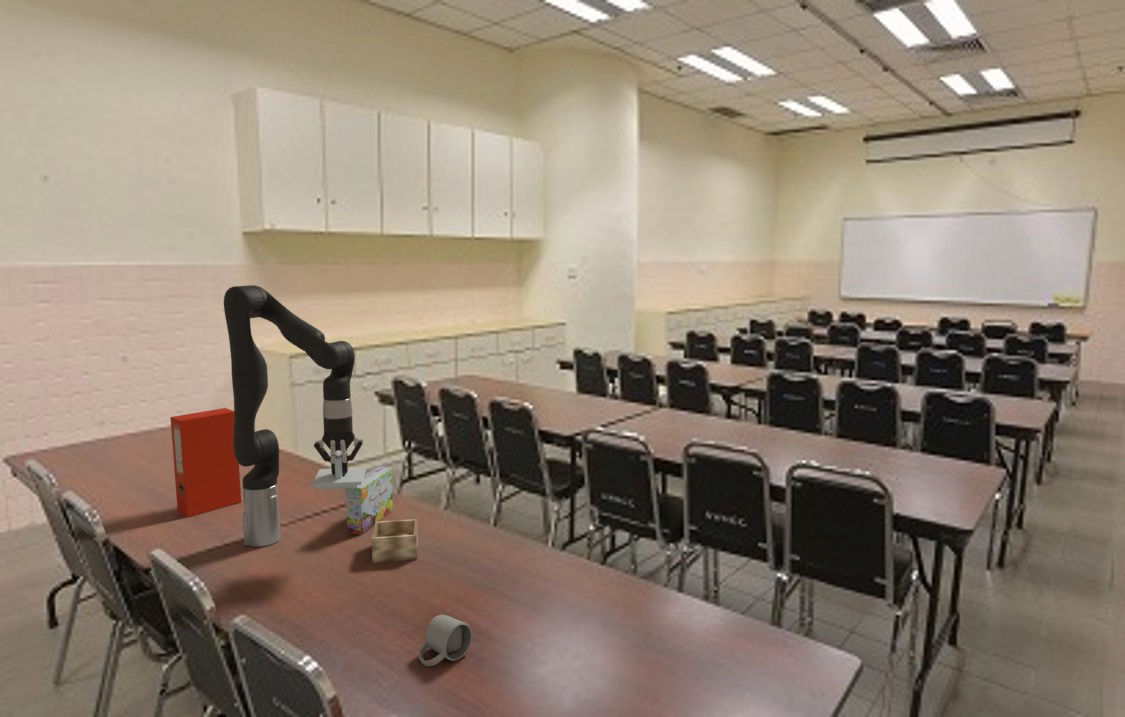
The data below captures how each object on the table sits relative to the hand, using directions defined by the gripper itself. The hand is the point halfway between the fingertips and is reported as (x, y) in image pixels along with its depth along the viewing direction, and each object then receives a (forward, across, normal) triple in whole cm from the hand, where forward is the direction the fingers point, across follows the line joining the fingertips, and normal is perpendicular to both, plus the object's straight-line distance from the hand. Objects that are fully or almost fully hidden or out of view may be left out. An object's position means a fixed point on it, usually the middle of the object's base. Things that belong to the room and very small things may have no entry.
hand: (340, 474), depth 186 cm
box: (+24, +15, 0) cm, 28 cm away
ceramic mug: (+24, +27, -53) cm, 64 cm away
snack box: (+24, +6, +24) cm, 34 cm away
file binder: (+24, -48, +45) cm, 70 cm away
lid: (+2, 0, 0) cm, 2 cm away
